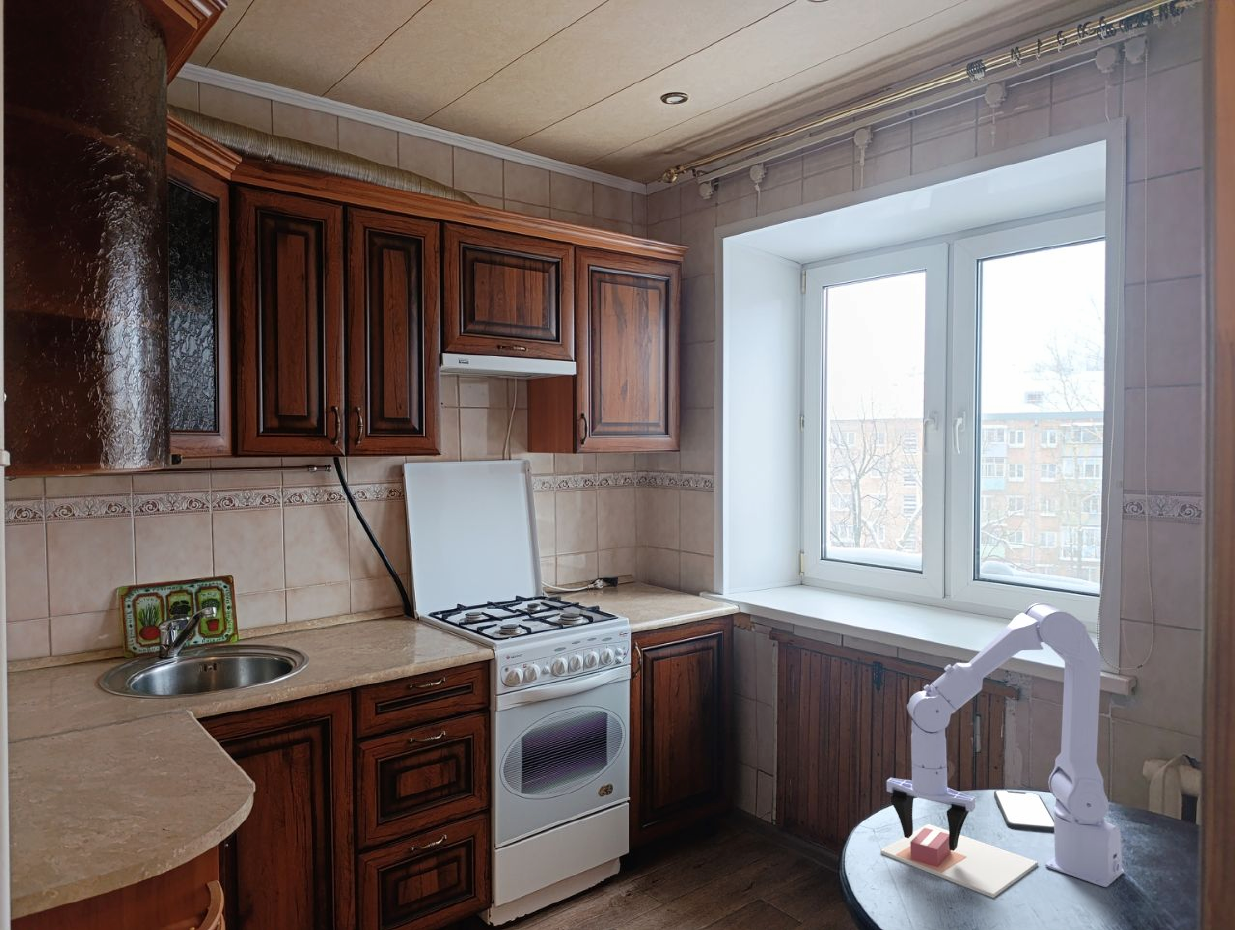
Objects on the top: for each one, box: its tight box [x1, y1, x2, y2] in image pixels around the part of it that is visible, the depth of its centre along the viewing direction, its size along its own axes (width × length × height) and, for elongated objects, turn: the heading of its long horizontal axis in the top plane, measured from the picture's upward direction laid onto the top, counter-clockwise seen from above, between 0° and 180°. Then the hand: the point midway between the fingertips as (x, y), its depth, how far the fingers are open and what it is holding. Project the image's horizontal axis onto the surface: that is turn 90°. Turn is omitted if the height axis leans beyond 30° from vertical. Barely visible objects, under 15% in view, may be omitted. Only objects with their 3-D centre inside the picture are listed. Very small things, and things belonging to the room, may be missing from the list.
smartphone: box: [993, 790, 1054, 833], centre depth 158 cm, size 9×2×16 cm
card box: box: [910, 828, 951, 867], centre depth 140 cm, size 7×4×3 cm, turn 140°
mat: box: [880, 823, 1039, 899], centre depth 140 cm, size 20×16×1 cm
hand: (930, 841), depth 140 cm, fingers open, 7 cm apart
